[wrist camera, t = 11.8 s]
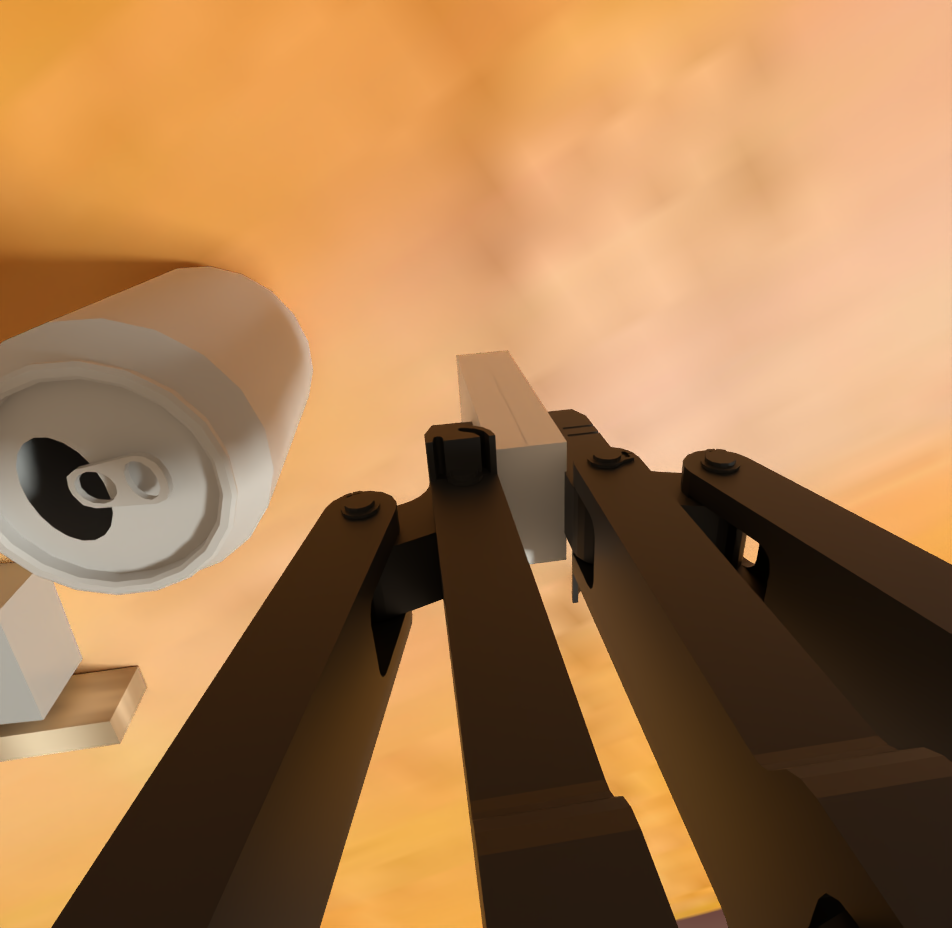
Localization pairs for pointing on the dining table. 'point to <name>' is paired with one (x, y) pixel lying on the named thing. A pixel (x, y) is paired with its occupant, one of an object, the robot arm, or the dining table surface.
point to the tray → (79, 716)
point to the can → (147, 430)
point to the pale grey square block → (32, 645)
